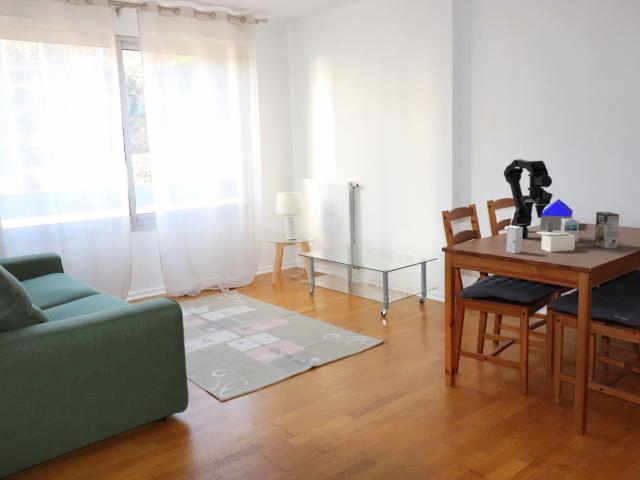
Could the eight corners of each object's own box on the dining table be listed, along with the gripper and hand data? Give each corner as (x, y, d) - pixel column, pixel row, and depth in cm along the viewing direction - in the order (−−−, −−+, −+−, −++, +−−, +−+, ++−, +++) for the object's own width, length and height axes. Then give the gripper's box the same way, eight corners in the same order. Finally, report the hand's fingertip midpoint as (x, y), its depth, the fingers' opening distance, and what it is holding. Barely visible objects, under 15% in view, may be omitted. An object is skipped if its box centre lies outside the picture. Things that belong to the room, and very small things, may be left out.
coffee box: (594, 244, 279) (595, 212, 276) (606, 244, 279) (608, 211, 276) (604, 248, 270) (606, 214, 267) (617, 247, 270) (619, 213, 267)
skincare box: (505, 251, 270) (506, 226, 268) (513, 250, 272) (513, 225, 270) (515, 253, 264) (515, 227, 262) (522, 252, 266) (523, 227, 264)
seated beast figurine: (503, 230, 330) (503, 209, 328) (517, 229, 331) (518, 208, 328) (510, 232, 321) (510, 211, 318) (525, 232, 321) (525, 210, 319)
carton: (541, 249, 273) (541, 234, 271) (564, 247, 274) (565, 233, 273) (550, 252, 265) (550, 237, 264) (574, 250, 266) (574, 235, 265)
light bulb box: (578, 242, 286) (579, 221, 284) (564, 242, 288) (564, 221, 286) (573, 238, 297) (574, 218, 295) (559, 238, 298) (560, 218, 296)
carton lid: (535, 232, 276) (536, 221, 275) (559, 231, 278) (560, 220, 277) (545, 235, 268) (545, 224, 267) (569, 234, 270) (569, 222, 269)
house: (543, 223, 351) (544, 197, 349) (572, 224, 344) (573, 198, 342) (539, 229, 329) (540, 202, 327) (570, 230, 322) (571, 202, 320)
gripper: (560, 186, 278) (559, 218, 281) (540, 183, 296) (539, 213, 299) (539, 187, 276) (538, 219, 279) (520, 184, 295) (520, 214, 297)
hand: (534, 216), depth 289 cm, fingers open, 9 cm apart
